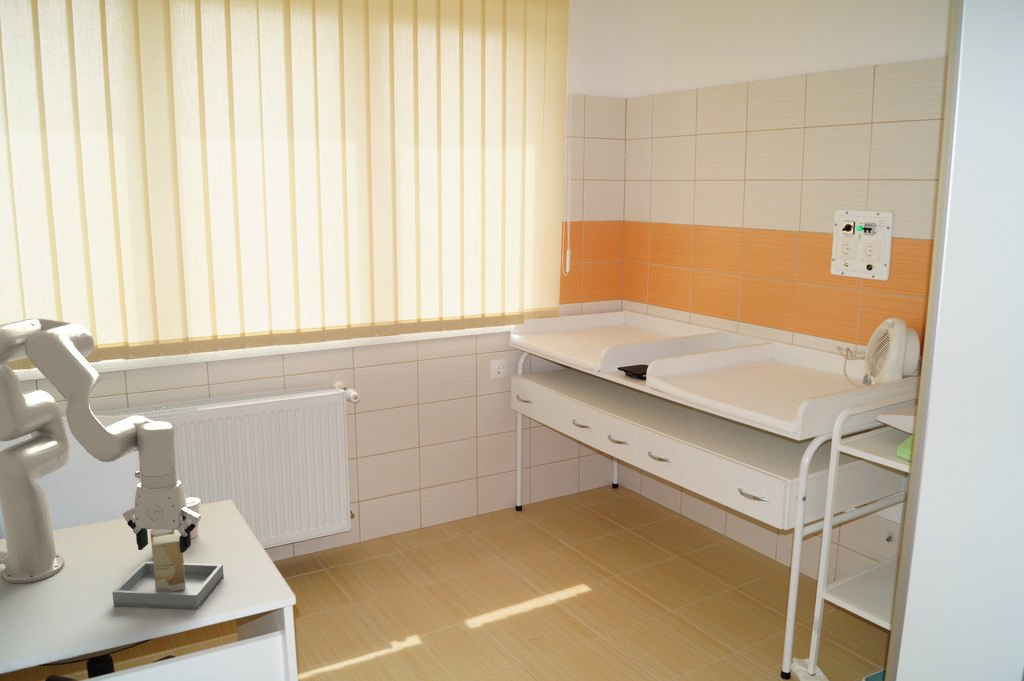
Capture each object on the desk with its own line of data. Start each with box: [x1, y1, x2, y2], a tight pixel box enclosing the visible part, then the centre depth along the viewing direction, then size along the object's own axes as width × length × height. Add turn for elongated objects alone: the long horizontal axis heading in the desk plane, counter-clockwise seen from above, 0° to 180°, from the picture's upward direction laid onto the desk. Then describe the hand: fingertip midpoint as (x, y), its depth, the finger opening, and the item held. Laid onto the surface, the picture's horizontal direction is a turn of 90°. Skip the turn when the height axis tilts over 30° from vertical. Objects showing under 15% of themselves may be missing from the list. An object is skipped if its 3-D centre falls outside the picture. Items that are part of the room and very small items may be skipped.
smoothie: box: [182, 485, 202, 540], centre depth 204 cm, size 6×6×14 cm
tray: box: [111, 561, 224, 610], centre depth 178 cm, size 19×14×4 cm
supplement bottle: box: [149, 529, 175, 555], centre depth 195 cm, size 5×5×10 cm
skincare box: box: [151, 532, 185, 592], centre depth 177 cm, size 6×4×12 cm
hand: (164, 548), depth 176 cm, fingers open, 9 cm apart
